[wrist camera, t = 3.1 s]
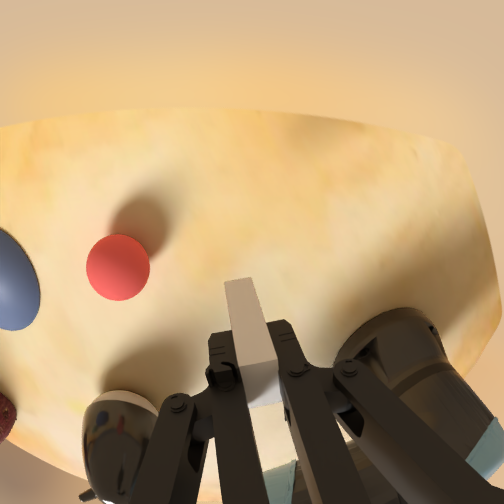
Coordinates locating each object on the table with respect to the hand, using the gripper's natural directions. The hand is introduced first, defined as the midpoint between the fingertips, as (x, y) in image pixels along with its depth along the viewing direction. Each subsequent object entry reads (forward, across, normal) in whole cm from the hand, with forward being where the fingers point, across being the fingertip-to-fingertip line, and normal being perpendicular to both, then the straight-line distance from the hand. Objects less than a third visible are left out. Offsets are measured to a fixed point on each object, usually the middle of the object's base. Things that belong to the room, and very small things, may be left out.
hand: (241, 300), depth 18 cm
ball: (+9, +9, 0) cm, 13 cm away
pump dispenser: (+11, +16, +20) cm, 29 cm away
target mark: (+11, +26, 0) cm, 29 cm away
